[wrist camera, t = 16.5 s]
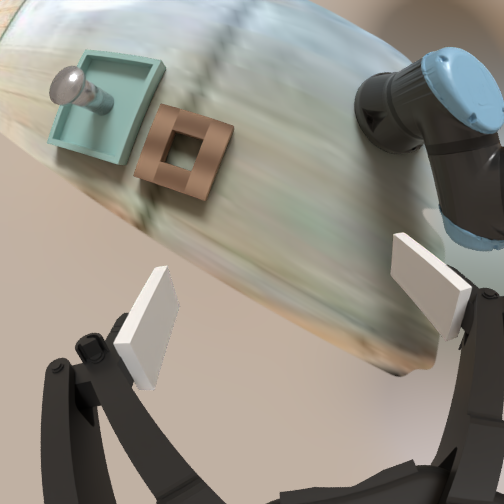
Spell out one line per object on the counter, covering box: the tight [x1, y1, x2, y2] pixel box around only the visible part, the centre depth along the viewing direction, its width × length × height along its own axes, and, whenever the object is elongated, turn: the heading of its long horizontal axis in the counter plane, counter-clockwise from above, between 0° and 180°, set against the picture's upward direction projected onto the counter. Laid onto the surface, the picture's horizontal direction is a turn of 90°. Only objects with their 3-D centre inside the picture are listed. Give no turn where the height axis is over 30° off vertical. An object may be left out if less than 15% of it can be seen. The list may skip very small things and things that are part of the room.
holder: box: [133, 104, 234, 201], centre depth 41 cm, size 12×12×3 cm
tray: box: [47, 50, 166, 165], centre depth 38 cm, size 18×16×4 cm
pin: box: [49, 66, 114, 115], centre depth 32 cm, size 6×6×13 cm
